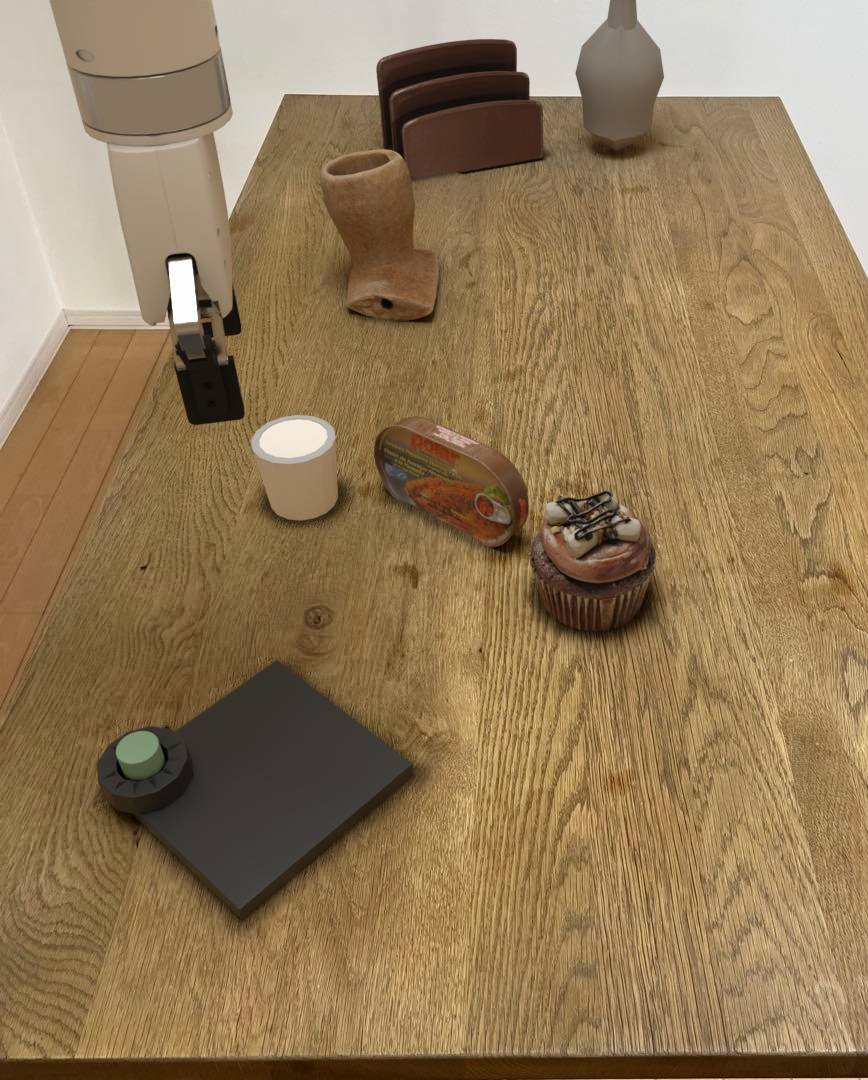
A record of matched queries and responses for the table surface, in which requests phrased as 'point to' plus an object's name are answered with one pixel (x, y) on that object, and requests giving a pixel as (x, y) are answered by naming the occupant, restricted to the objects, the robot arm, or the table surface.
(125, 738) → the button
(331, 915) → the table surface
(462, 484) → the tin
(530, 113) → the letter holder
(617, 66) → the bottle
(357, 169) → the clay boot vessel
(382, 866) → the table surface
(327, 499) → the white cup
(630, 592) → the cupcake
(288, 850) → the scale
